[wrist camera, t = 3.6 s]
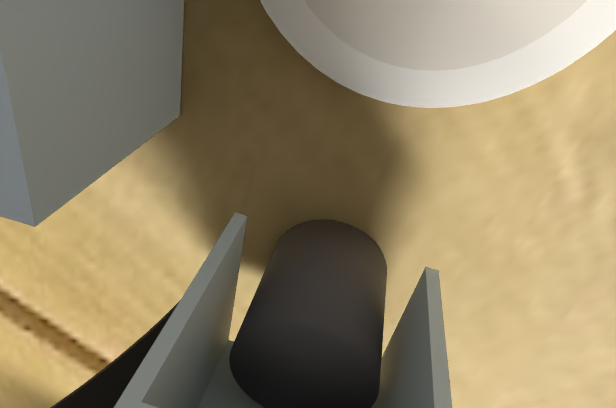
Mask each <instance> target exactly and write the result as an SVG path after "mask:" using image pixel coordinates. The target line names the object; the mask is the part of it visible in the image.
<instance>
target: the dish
mask: <svg viewBox="0 0 616 408" xmlns="http://www.w3.org/2000/svg"><path fill="white" fill-rule="evenodd" d="M260 2H261V3H262V5H263V7H264V9H265V11H266V13H267V14H268V15H269V17H270V18H271V20H272V21H273V23H274V24H275V25H276V27H277V28H278V30H279V31H280V33H281V34H282V35H283V36H284V37H285V39H286V40H287V41H288V42H289V43H290V44H291V45H292V46H293V47H294V49H295V50H296V51H297V52H298V53H299V54H300V55H301V56H302V57H304V58H305V59H306V60H307V61H308V62H309V63H311V64H312V65H313V66H314V67H315V68H316V69H317V70H319V71H320V72H322V73H323V74H325V75H326V76H328V77H329V78H331V79H332V80H334V81H335V82H337V83H339V84H341V85H343V86H345V87H347V88H349V89H351V90H353V91H355V92H357V93H359V94H361V95H364V96H367V97H370V98H373V99H376V100H379V101H382V102H387V103H392V104H397V105H402V106H408V107H422V108H443V107H458V106H464V105H470V104H476V103H482V102H486V101H489V100H493V99H496V98H499V97H503V96H506V95H510V94H512V93H515V92H517V91H519V90H522V89H524V88H527V87H529V86H532V85H534V84H536V83H538V82H540V81H542V80H544V79H546V78H548V77H549V76H551V75H553V74H555V73H557V72H559V71H561V70H562V69H564V68H566V67H567V66H569V65H570V64H572V63H573V62H575V61H576V60H578V59H579V58H581V57H582V56H583V55H585V54H586V53H588V52H589V51H591V50H592V49H594V48H595V47H596V46H597V45H598V44H600V43H601V42H602V41H603V40H604V39H605V38H607V37H608V36H609V35H610V34H611V33H613V32H614V31H615V30H616V0H260Z"/></svg>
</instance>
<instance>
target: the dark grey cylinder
mask: <svg viewBox="0 0 616 408" xmlns="http://www.w3.org/2000/svg"><path fill="white" fill-rule="evenodd" d="M386 278H387V266H386V261H385V258H384V255H383V253H382V251H381V250H380V248H379V247H378V245H377V244H376V243H375V242H374V241H373V240H372V239H371V238H370V237H369V236H368V235H367V234H365V233H364V232H362V231H361V230H359V229H357V228H355V227H353V226H351V225H348V224H346V223H343V222H338V221H333V220H312V221H307V222H303V223H301V224H298V225H296V226H294V227H292V228H291V229H289V230H288V231H286V232H285V233H284V234H283V235H282V237H281V238H280V239H279V241H278V243H277V245H276V247H275V249H274V251H273V254H272V256H271V258H270V261H269V263H268V265H267V267H266V270H265V272H264V274H263V277H262V279H261V281H260V284H259V286H258V288H257V291H256V293H255V295H254V298H253V300H252V302H251V304H250V307H249V309H248V311H247V314H246V316H245V318H244V321H243V323H242V325H241V328H240V330H239V332H238V334H237V337H236V339H235V341H234V344H233V346H232V348H231V352H230V356H229V363H230V369H231V372H232V375H233V377H234V379H235V381H236V382H237V384H238V385H239V386H240V388H241V389H242V390H243V391H244V392H245V393H246V394H247V395H248V396H249V397H250V398H251V399H253V400H254V401H255V402H256V403H258V404H260V405H261V406H263V407H264V408H371V407H372V406H373V405H374V403H375V402H376V400H377V397H378V395H379V389H380V373H381V357H382V342H383V326H384V310H385V294H386Z"/></svg>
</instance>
